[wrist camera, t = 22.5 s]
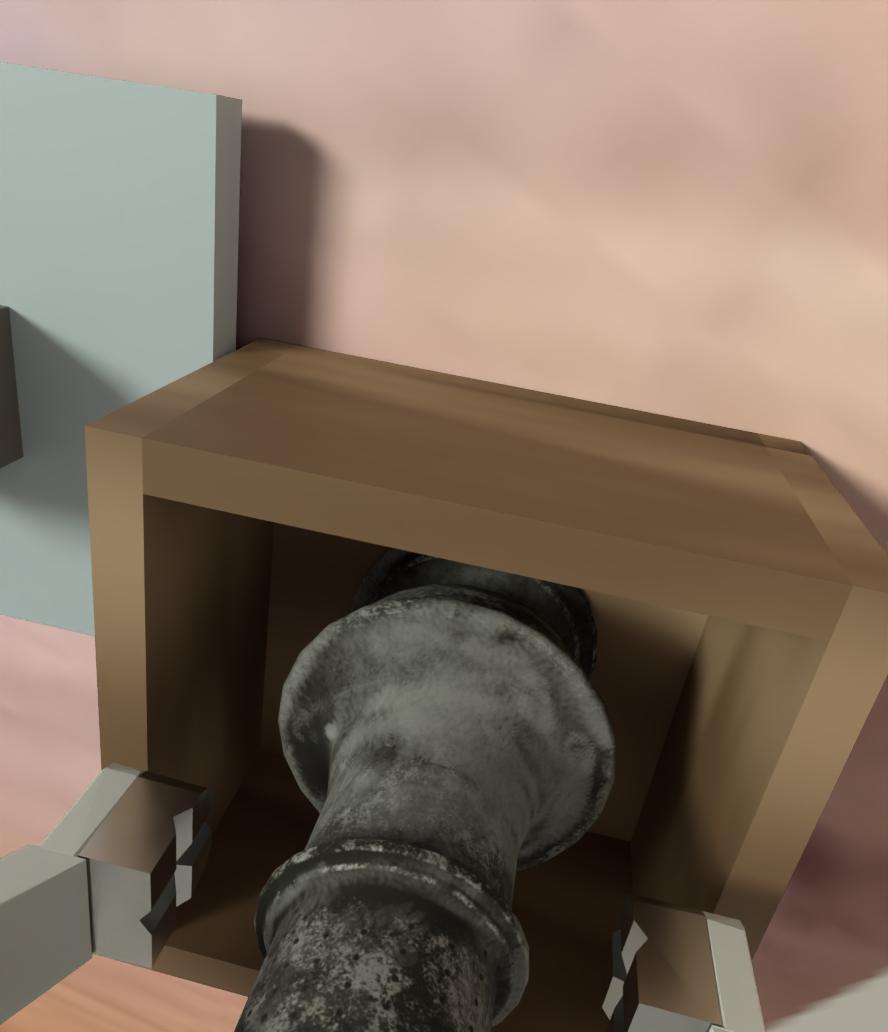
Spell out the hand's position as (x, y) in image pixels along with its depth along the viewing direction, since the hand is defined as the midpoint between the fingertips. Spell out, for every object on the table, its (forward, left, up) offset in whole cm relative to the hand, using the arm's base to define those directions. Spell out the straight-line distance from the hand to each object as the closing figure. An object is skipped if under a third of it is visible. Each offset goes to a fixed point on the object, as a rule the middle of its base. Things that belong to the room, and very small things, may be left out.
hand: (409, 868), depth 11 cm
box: (0, 0, -7) cm, 7 cm away
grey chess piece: (0, 0, -6) cm, 6 cm away
